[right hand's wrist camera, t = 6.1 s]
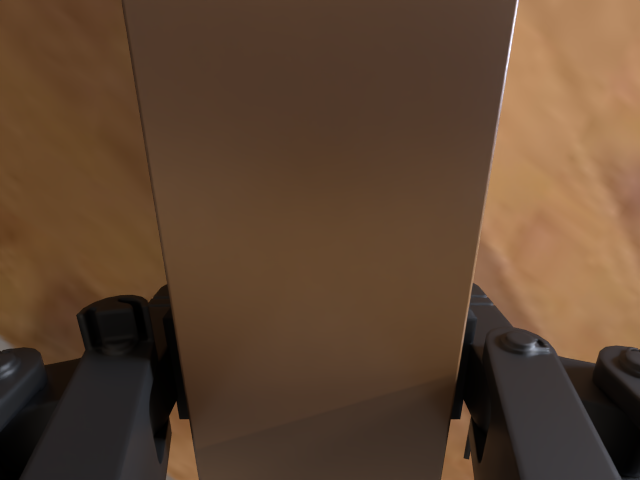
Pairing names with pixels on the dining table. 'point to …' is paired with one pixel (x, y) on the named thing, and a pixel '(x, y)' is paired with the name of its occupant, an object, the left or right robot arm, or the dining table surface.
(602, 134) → the dining table surface
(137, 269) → the dining table surface
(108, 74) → the dining table surface
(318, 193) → the post
